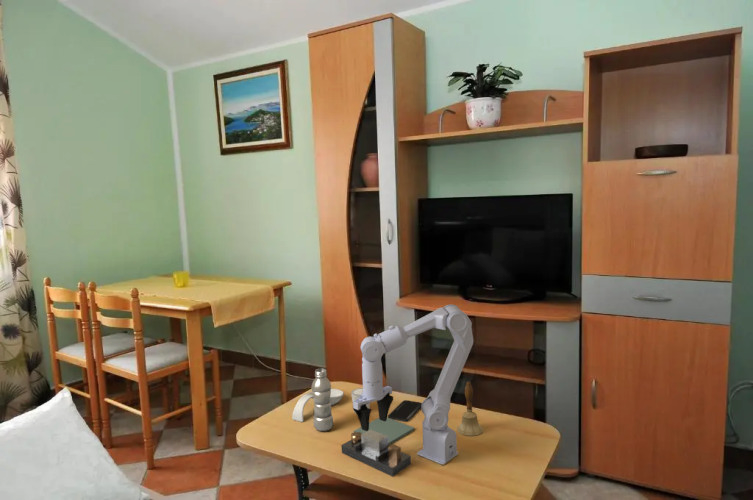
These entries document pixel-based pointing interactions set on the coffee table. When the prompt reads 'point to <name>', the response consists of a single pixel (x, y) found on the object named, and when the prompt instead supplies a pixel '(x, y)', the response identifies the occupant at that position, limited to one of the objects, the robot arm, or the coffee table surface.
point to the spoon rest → (299, 407)
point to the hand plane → (377, 456)
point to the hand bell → (469, 416)
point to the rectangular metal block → (374, 442)
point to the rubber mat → (389, 429)
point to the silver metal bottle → (322, 401)
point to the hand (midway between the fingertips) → (374, 424)
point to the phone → (405, 411)
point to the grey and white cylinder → (358, 395)
